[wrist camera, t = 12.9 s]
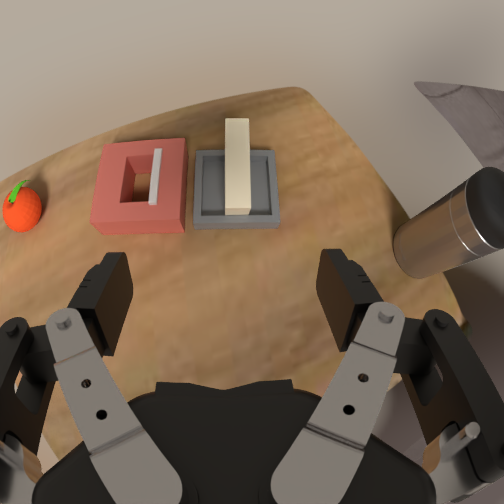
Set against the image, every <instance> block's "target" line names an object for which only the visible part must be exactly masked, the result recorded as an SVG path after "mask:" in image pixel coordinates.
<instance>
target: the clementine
mask: <svg viewBox="0 0 504 504" xmlns="http://www.w3.org/2000/svg"><path fill="white" fill-rule="evenodd" d="M26 181H31V180H25V181H22V182H21V183H19V184H18V185H17V186H16V187H15V188H14V189H13V190H12V191H11V192H10V193H9V194H8V196H7V197H6V199H5V201H4V204H3V218H4V220H5V223H6V224H7V226H8V227H9V228H11V229H12V230H14V231H16V232H25V231H28V230H30V229H32V228H33V227H34V226H35V225H36V224H37V222H38V221H39V218H40V215H41V209H42V207H41V201H40V199H39V196H38V195H37V194H36V192H35V191H34V190H32V189H30V188H28V187H21V186H22V184H23V183H24V182H26Z"/></svg>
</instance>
